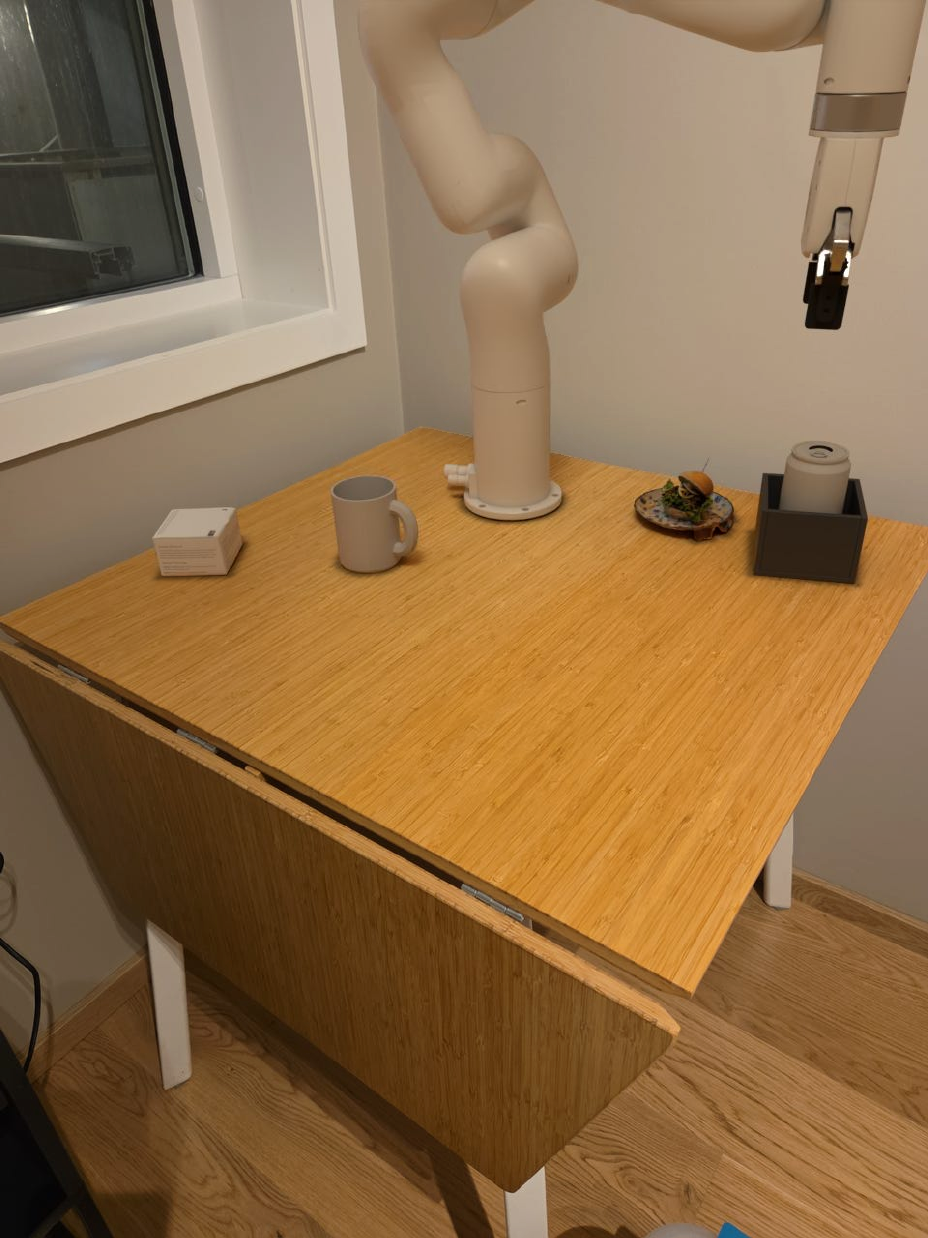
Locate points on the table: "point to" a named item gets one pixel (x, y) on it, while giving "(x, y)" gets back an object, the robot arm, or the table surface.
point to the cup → (371, 524)
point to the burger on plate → (687, 506)
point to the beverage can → (815, 478)
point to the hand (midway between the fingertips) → (820, 315)
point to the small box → (198, 541)
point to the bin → (808, 536)
